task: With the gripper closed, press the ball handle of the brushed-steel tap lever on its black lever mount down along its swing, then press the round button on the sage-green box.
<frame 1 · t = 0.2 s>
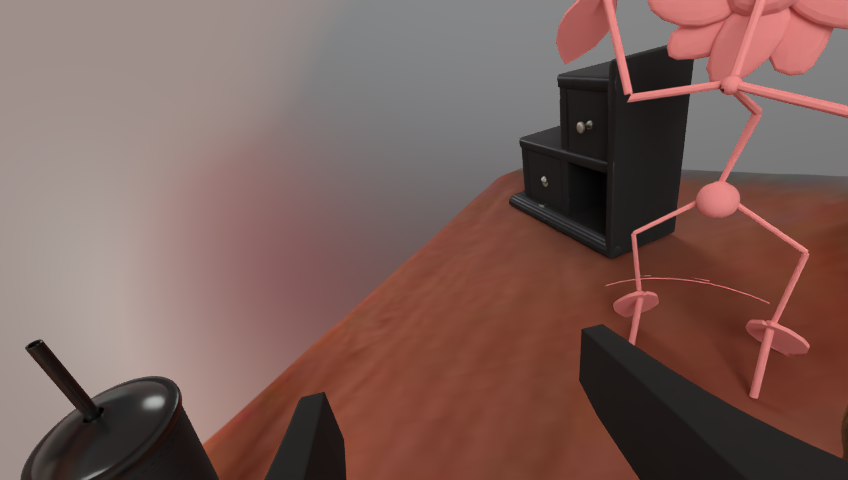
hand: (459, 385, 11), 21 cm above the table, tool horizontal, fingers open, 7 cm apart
bookend: (580, 218, 62), on the table
figurine: (702, 330, 39), on the table
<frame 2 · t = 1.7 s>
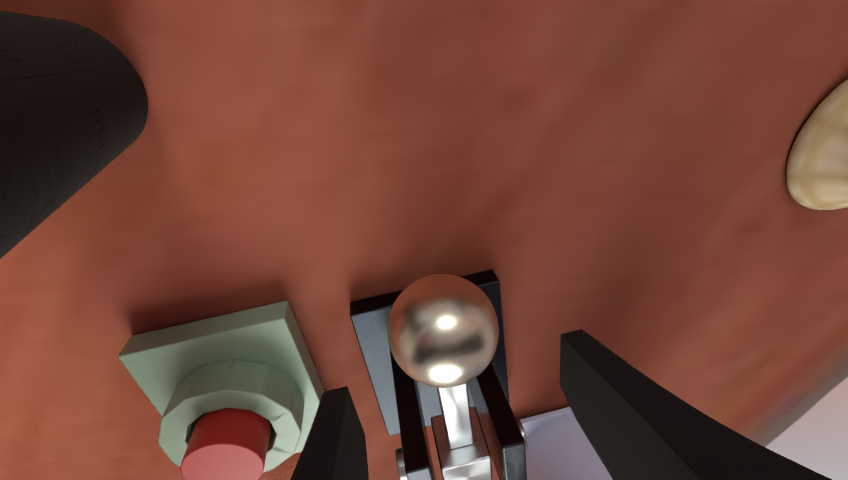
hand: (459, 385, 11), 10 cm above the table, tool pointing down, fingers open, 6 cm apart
button box: (246, 383, 23), on the table
drinking cup: (78, 91, 16), on the table
tap lever: (453, 397, 16), point 7 cm above the table, hinge at 10.0°
black lever mount: (435, 351, 25), on the table
button: (228, 449, 20), point 4 cm above the table, slide at 0.1 cm
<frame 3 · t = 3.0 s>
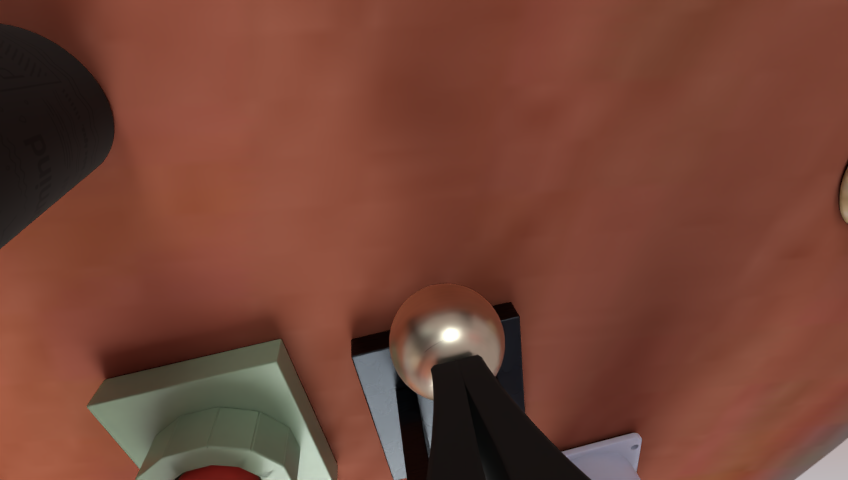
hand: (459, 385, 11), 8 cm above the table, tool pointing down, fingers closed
button box: (236, 427, 21), on the table
drinking cup: (31, 108, 13), on the table
tap lever: (464, 435, 15), point 6 cm above the table, hinge at -4.5°
black lever mount: (445, 389, 22), on the table
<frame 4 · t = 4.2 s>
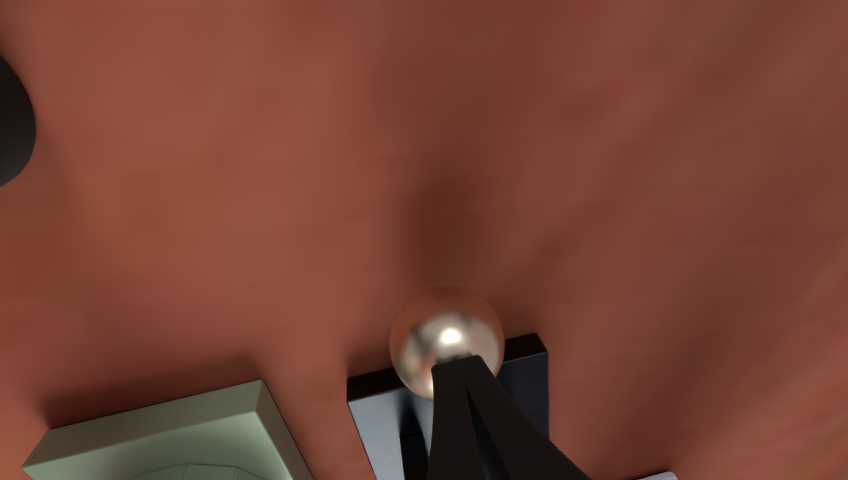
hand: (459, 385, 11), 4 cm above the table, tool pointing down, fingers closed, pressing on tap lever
button box: (211, 478, 18), on the table
tap lever: (474, 470, 13), point 4 cm above the table, hinge at -25.4°, touching gripper
black lever mount: (457, 430, 19), on the table
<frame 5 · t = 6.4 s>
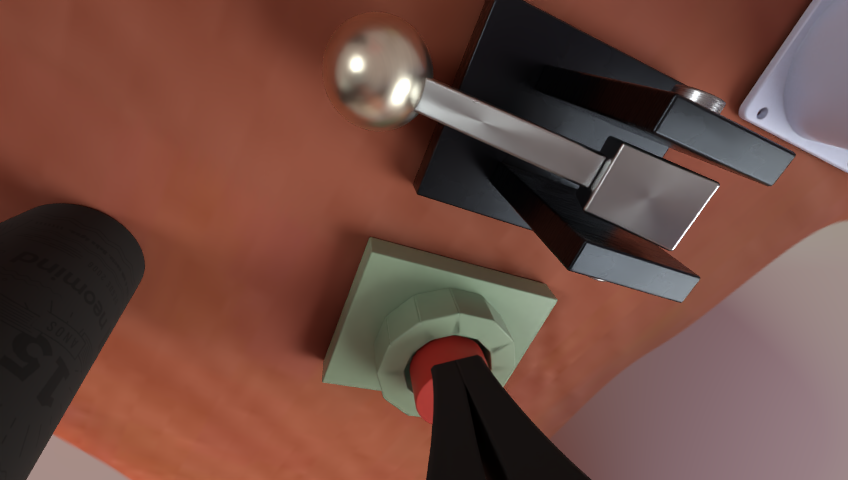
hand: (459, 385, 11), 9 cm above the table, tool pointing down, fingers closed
button box: (434, 322, 22), on the table
drinking cup: (84, 253, 17), on the table
tap lever: (498, 127, 13), point 4 cm above the table, hinge at -25.4°
black lever mount: (548, 137, 18), on the table
button: (451, 380, 19), point 4 cm above the table, slide at 0.1 cm
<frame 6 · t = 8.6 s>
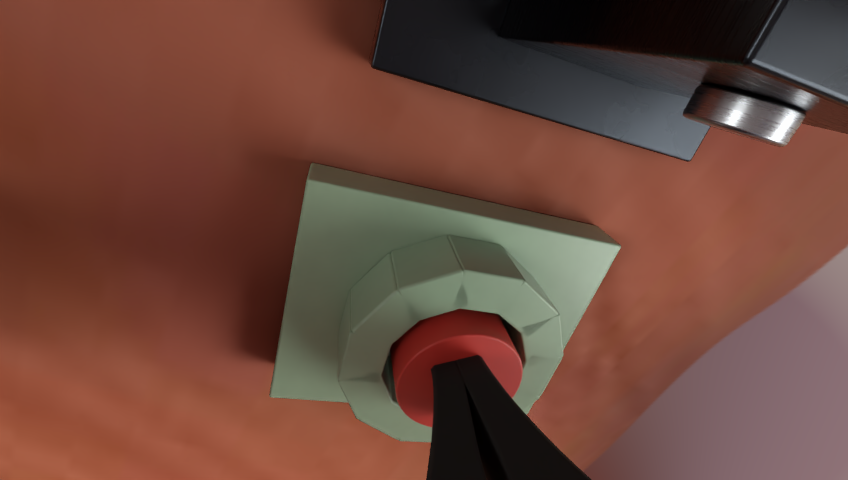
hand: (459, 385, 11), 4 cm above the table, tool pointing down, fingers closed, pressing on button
button box: (433, 297, 15), on the table
button: (452, 358, 12), point 3 cm above the table, slide at -0.9 cm, touching gripper
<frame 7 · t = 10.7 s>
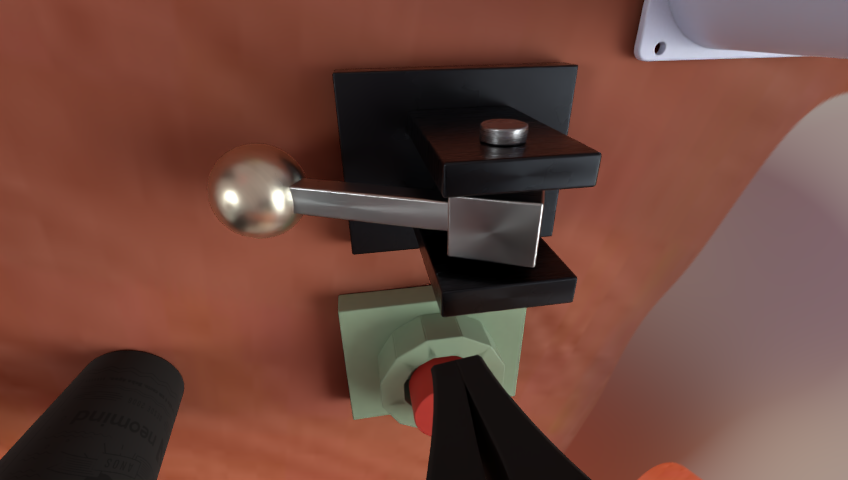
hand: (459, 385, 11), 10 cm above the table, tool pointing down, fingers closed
button box: (431, 340, 24), on the table
drinking cup: (137, 381, 22), on the table
tap lever: (364, 202, 15), point 4 cm above the table, hinge at -25.4°
black lever mount: (452, 158, 19), on the table
button: (446, 396, 21), point 4 cm above the table, slide at 0.1 cm
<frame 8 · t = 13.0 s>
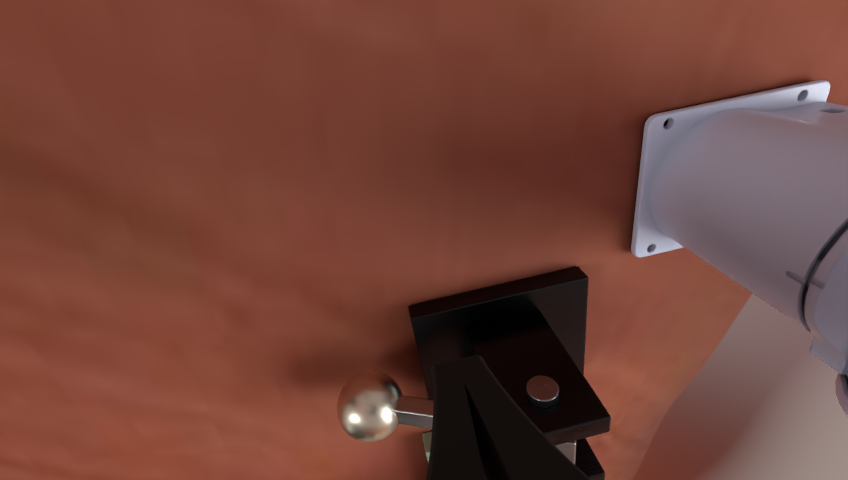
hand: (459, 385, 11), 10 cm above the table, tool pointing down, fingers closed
tap lever: (447, 416, 21), point 4 cm above the table, hinge at -25.4°
black lever mount: (498, 337, 25), on the table
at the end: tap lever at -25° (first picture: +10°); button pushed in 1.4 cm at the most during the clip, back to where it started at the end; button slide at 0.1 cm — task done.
